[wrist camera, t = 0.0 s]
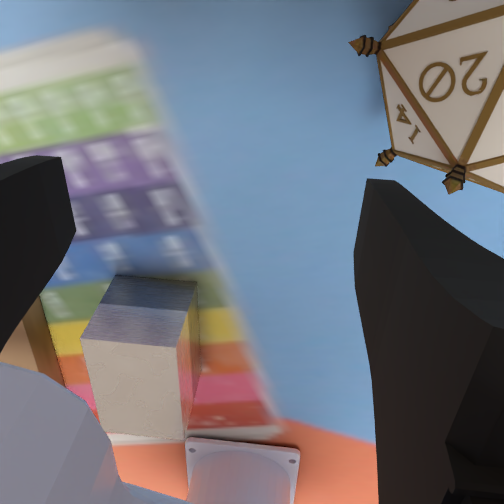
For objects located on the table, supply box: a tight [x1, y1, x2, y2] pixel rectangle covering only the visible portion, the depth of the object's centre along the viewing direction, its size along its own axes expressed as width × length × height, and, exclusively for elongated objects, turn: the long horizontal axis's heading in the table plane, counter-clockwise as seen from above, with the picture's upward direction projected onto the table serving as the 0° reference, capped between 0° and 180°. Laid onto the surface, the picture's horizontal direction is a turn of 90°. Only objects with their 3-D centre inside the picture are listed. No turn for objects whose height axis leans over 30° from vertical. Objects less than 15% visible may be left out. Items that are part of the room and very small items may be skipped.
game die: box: [348, 0, 504, 194], centre depth 15 cm, size 9×8×10 cm
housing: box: [80, 275, 201, 440], centre depth 26 cm, size 7×4×5 cm, turn 178°
